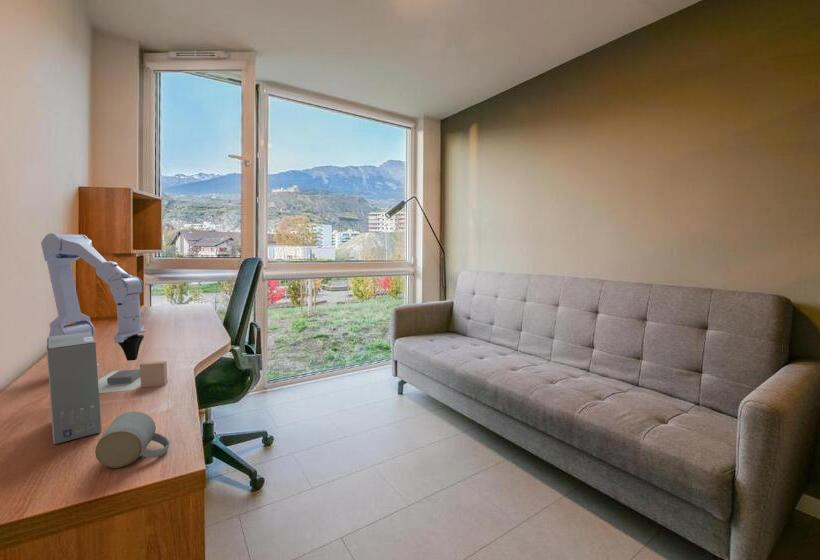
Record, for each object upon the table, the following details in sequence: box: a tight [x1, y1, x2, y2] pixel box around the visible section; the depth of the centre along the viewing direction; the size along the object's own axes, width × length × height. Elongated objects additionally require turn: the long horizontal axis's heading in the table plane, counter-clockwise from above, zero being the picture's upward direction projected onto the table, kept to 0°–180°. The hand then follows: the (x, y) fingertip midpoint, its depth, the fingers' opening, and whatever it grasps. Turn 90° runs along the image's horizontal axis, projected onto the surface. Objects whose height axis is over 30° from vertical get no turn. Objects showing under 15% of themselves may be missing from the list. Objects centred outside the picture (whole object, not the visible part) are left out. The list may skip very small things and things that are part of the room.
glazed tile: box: [107, 368, 140, 385], centre depth 110 cm, size 2×6×7 cm
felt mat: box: [98, 370, 141, 394], centre depth 110 cm, size 20×14×1 cm
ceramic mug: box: [95, 411, 171, 469], centre depth 70 cm, size 11×8×8 cm
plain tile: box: [139, 360, 169, 388], centre depth 106 cm, size 2×6×7 cm, turn 105°
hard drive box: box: [46, 332, 102, 445], centre depth 81 cm, size 16×8×20 cm, turn 44°
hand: (132, 359), depth 114 cm, fingers closed
